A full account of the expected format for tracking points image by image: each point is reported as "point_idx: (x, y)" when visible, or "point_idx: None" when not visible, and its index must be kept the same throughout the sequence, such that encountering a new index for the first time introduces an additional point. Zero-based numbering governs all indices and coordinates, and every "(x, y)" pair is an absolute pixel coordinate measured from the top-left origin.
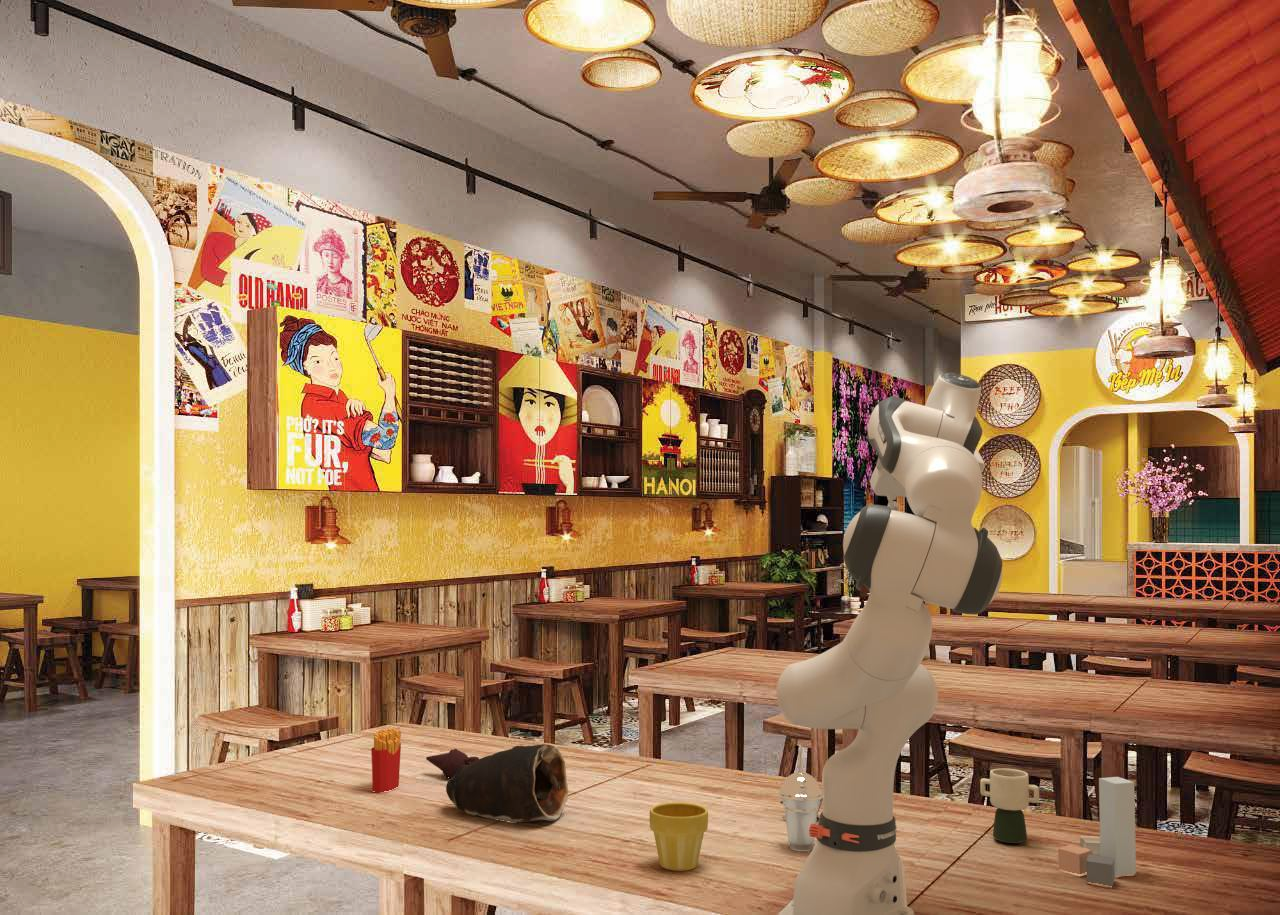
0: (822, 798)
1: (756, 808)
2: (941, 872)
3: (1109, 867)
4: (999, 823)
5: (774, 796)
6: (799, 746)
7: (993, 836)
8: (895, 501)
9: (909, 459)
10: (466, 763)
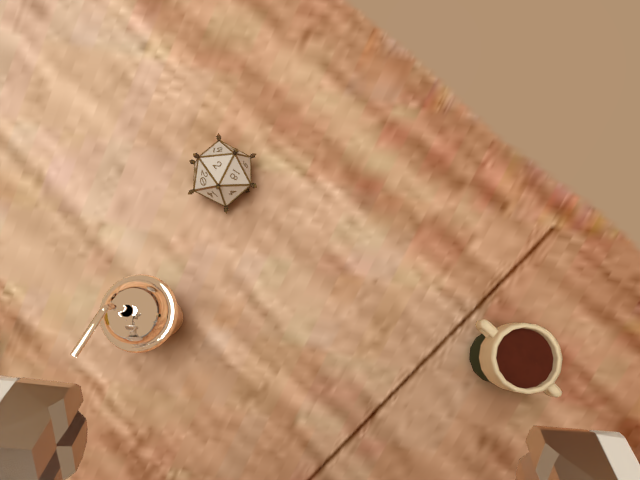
0: (247, 188)
1: (179, 113)
2: (316, 469)
3: None
4: (479, 363)
5: (233, 55)
6: (82, 348)
7: (470, 349)
8: (20, 450)
9: None
10: None
